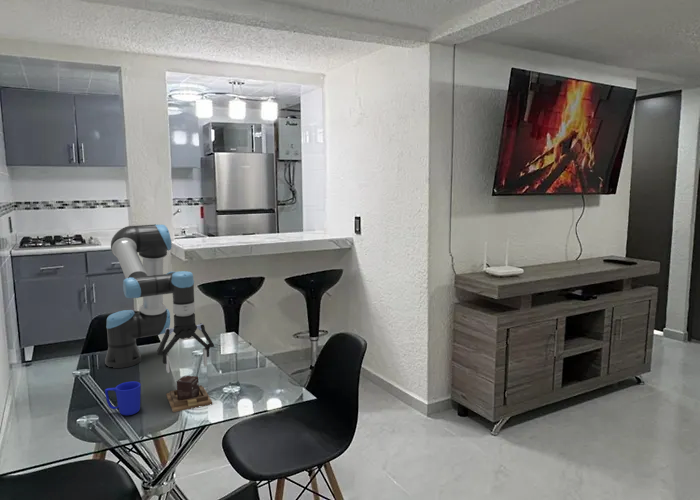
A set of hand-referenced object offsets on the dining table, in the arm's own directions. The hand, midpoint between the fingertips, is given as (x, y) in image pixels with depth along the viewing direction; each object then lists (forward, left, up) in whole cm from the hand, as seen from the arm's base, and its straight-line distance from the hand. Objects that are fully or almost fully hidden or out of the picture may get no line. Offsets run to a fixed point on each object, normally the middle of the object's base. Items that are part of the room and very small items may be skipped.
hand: (186, 368), depth 194 cm
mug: (0, -22, -13) cm, 26 cm away
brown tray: (0, 0, -12) cm, 12 cm away
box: (0, 0, -12) cm, 12 cm away
